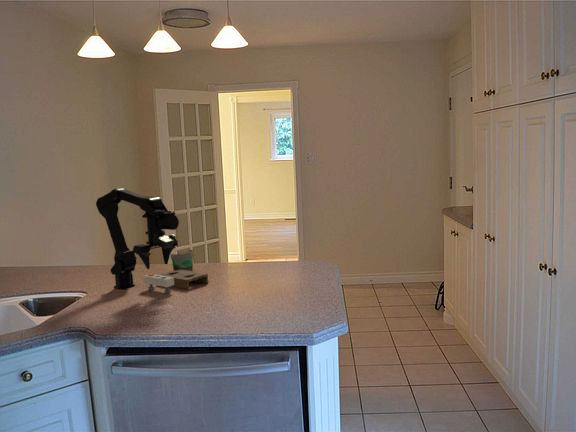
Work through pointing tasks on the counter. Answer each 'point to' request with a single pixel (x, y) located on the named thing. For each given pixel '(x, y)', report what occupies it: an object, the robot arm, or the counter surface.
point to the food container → (183, 261)
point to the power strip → (159, 281)
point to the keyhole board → (186, 277)
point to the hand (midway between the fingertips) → (157, 266)
